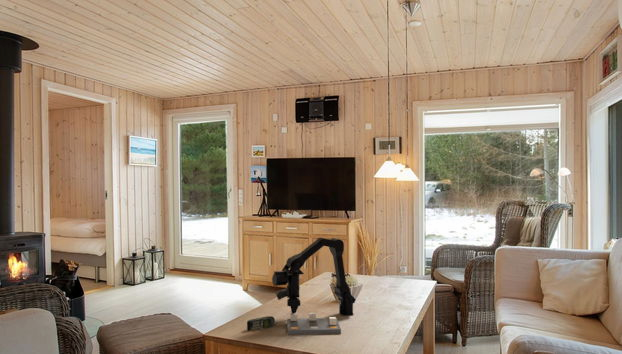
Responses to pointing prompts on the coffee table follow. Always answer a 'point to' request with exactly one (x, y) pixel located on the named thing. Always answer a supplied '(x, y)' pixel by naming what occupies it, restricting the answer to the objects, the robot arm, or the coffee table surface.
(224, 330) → the coffee table surface
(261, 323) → the mobile phone
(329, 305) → the coffee table surface
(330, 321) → the tab
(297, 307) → the robot arm
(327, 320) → the switch plate
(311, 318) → the tab middle
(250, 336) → the coffee table surface
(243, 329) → the coffee table surface
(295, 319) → the tab
